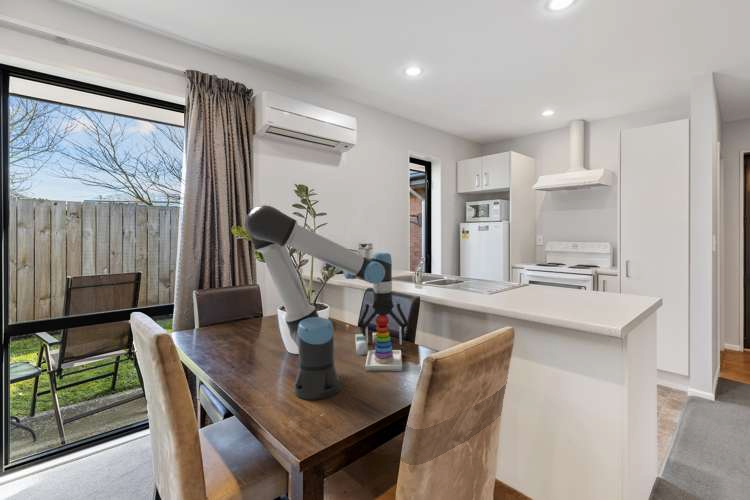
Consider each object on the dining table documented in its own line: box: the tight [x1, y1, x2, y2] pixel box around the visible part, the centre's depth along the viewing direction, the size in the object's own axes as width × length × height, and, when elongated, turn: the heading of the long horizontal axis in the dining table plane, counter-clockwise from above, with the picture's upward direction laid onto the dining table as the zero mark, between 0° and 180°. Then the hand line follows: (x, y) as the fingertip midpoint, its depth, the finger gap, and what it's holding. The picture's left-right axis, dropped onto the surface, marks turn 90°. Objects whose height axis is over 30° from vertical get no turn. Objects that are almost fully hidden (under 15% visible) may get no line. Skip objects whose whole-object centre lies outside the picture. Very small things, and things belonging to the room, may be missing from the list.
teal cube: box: [354, 333, 366, 344], centre depth 169 cm, size 4×4×4 cm
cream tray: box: [364, 349, 403, 372], centre depth 144 cm, size 14×18×2 cm
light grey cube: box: [355, 340, 369, 356], centre depth 155 cm, size 5×5×5 cm
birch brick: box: [372, 332, 377, 344], centre depth 172 cm, size 6×4×4 cm, turn 95°
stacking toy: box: [374, 314, 394, 363], centre depth 143 cm, size 8×8×19 cm
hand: (383, 343), depth 143 cm, fingers open, 13 cm apart
